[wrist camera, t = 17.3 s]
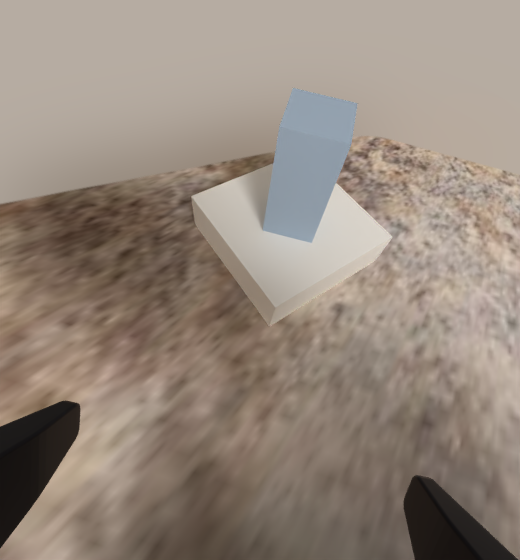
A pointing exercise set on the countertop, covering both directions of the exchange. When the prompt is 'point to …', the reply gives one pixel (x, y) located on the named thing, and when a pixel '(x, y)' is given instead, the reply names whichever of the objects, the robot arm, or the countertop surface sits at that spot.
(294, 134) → the blue pillar
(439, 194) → the countertop surface
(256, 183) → the base block
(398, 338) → the countertop surface
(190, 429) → the countertop surface
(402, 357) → the countertop surface
